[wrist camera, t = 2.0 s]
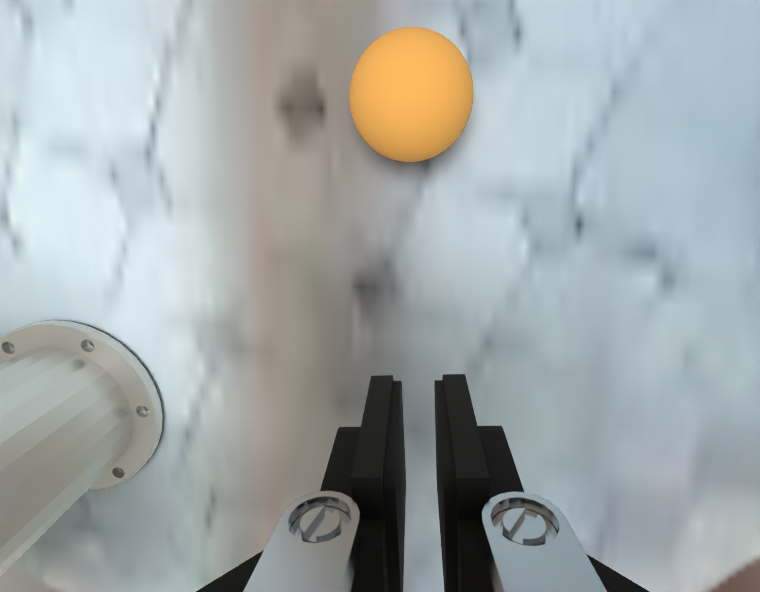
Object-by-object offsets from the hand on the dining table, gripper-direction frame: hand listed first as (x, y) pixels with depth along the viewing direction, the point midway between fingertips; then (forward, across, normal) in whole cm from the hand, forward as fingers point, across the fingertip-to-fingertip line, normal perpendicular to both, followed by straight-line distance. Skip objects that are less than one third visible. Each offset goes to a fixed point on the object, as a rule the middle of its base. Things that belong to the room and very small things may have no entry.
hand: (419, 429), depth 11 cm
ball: (+14, 0, -10) cm, 17 cm away
